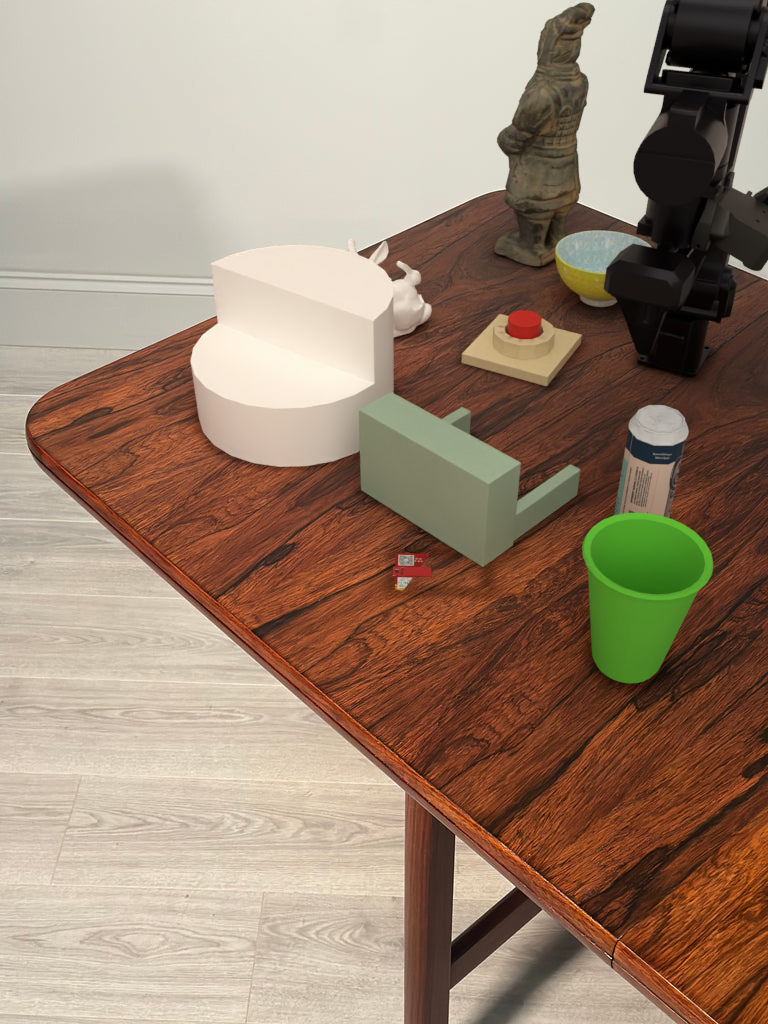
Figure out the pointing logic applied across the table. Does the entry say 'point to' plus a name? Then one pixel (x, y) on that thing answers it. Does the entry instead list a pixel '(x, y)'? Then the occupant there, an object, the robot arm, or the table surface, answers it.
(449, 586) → the table surface
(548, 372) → the button box
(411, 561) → the toy pistol
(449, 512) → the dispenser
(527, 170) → the statue
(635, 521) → the cup
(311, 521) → the table surface
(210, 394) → the white stepped cylinder
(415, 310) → the rabbit figurine
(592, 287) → the bowl
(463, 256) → the table surface
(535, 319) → the button
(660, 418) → the beer can
